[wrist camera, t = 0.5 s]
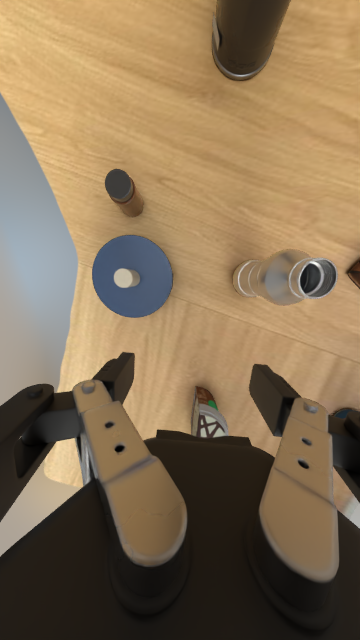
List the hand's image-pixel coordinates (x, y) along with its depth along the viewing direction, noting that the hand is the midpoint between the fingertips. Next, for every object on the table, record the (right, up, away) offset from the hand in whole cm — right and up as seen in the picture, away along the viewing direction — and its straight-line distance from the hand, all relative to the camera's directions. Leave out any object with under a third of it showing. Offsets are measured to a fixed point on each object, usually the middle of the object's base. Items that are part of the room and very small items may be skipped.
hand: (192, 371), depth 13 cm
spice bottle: (-10, +25, +22) cm, 34 cm away
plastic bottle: (+12, +12, +24) cm, 30 cm away
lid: (-9, +10, +18) cm, 23 cm away
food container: (+5, -16, +31) cm, 35 cm away
